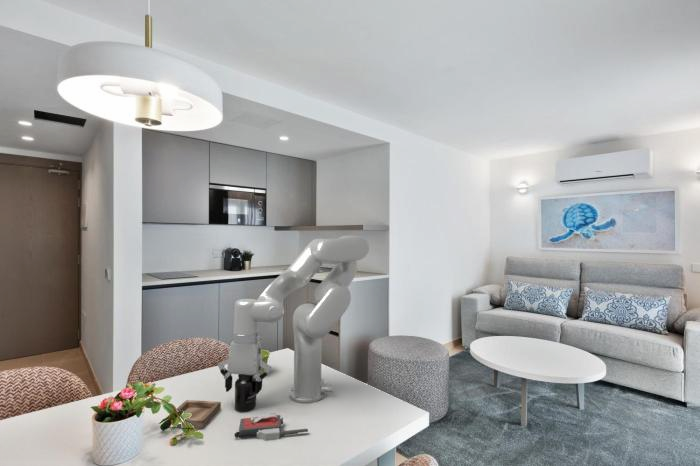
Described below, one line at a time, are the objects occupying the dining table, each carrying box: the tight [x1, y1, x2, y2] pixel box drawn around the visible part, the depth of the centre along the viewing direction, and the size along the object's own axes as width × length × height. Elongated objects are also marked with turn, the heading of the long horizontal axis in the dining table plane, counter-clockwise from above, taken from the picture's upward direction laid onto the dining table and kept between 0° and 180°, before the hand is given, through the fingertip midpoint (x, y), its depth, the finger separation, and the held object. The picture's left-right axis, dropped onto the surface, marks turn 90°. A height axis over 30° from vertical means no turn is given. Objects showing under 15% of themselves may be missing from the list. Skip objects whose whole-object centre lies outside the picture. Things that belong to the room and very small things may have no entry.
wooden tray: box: [164, 399, 222, 431], centre depth 107 cm, size 11×11×2 cm
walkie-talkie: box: [234, 413, 309, 441], centre depth 101 cm, size 9×4×20 cm
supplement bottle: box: [234, 374, 258, 413], centre depth 114 cm, size 7×7×12 cm
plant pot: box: [253, 349, 271, 377], centre depth 139 cm, size 9×9×9 cm
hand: (243, 391), depth 114 cm, fingers open, 9 cm apart
